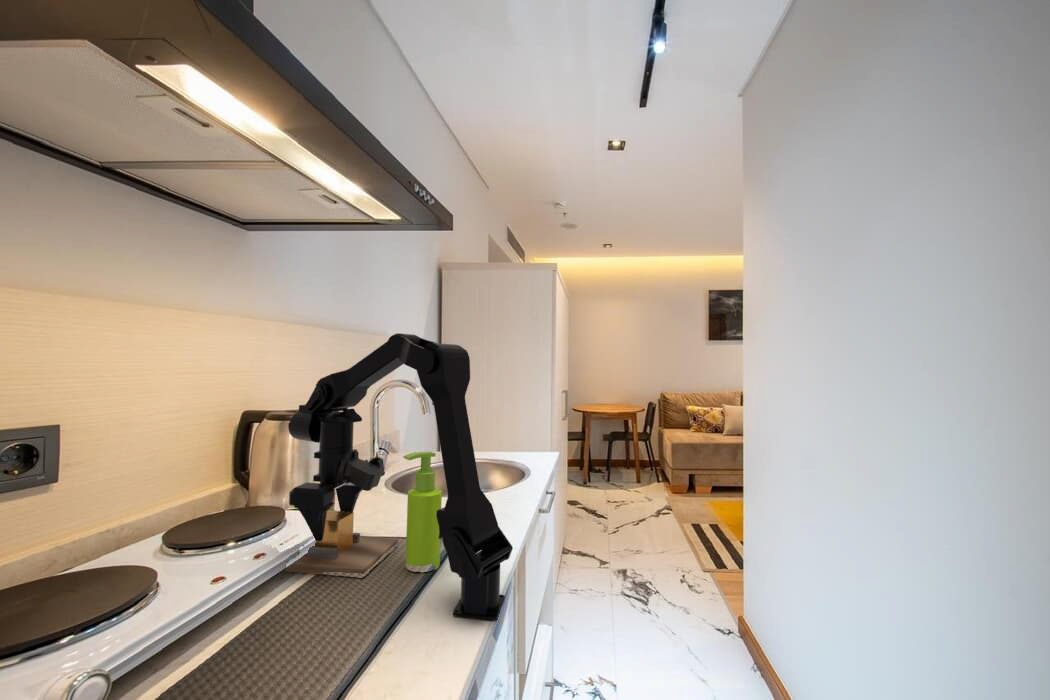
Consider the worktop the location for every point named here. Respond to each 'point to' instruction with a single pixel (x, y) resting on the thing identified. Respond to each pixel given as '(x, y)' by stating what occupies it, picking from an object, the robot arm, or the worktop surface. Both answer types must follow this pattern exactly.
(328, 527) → the block
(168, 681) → the worktop surface
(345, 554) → the dock
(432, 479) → the soap dispenser
